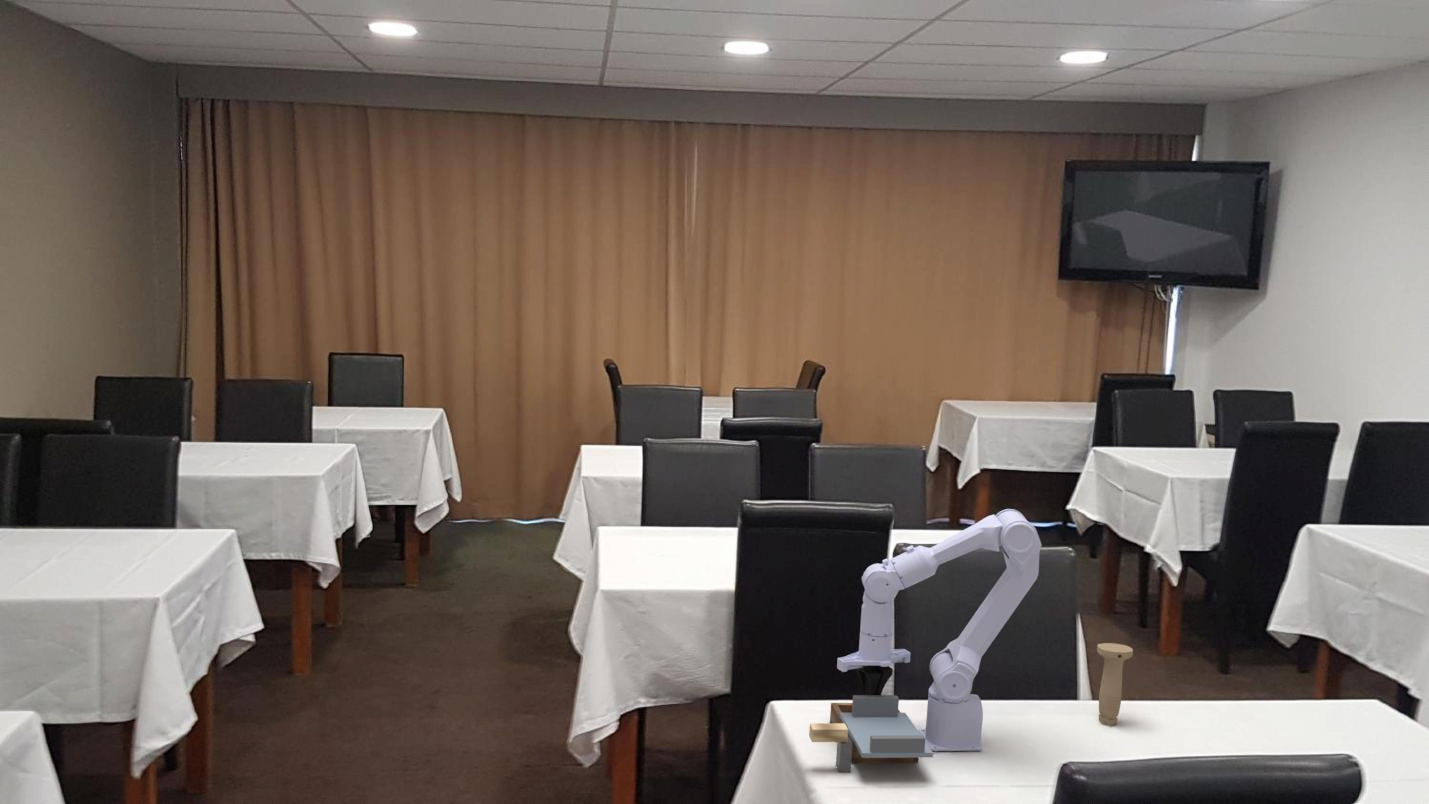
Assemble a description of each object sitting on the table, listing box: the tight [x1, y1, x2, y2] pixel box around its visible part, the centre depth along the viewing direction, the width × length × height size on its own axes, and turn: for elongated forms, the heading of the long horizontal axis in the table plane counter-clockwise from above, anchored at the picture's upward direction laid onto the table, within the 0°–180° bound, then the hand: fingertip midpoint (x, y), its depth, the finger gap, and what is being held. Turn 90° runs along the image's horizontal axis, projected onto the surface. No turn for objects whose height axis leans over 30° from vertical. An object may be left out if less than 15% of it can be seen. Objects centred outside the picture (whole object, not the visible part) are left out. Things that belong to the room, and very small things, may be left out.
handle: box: [1096, 642, 1134, 727], centre depth 206 cm, size 5×6×15 cm
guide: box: [835, 737, 853, 774], centre depth 182 cm, size 2×2×5 cm
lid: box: [840, 694, 934, 758], centre depth 186 cm, size 12×16×4 cm
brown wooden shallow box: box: [829, 702, 920, 764], centre depth 193 cm, size 12×16×4 cm
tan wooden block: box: [808, 722, 848, 743], centre depth 181 cm, size 6×2×2 cm, turn 97°
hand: (871, 703), depth 195 cm, fingers closed
